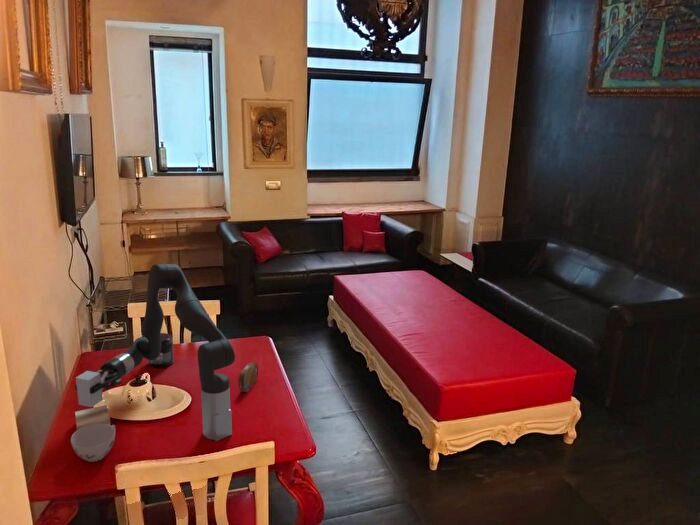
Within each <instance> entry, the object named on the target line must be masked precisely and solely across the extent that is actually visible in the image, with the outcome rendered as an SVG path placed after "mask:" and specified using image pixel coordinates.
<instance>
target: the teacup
mask: <svg viewBox="0 0 700 525" xmlns="http://www.w3.org/2000/svg"><path fill="white" fill-rule="evenodd" d="M115 438H116V425H115V424H112V425H111V426H110V425H108V424H92V425H87V426H85V427H82V428H80V429H78V430H77V429H76V431H74V433H73V434H72V435H71V438H70V443H71V447H72V449H73V451H74V453H75V454H76V455H77V456H78V457H80V459H82V460H85V461H87V462H91V463H95V461H96V462H99V461H101V460H102V459H104V458H105V456H106V455H107V454H108V453H109V452H110V451H111V449H112V447H113V445H114V442H115ZM98 460H99V461H98Z"/></svg>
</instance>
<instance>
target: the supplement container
mask: <svg viewBox="0 0 700 525" xmlns="http://www.w3.org/2000/svg"><path fill="white" fill-rule="evenodd" d="M174 360H175V358H174V343H173V340H172V335H171V334H169V333H167V332H166V333H165V332H161V352H160V355H159V356H158V358H156V359H155V360H152V361H151V360H147V363H148V365H149V366H150V367H152V368H157V369H160V368H166V367H169V366H170V365H171V364H173V363H174Z"/></svg>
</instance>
